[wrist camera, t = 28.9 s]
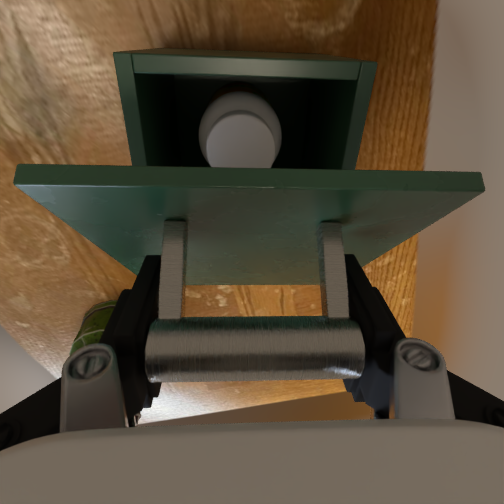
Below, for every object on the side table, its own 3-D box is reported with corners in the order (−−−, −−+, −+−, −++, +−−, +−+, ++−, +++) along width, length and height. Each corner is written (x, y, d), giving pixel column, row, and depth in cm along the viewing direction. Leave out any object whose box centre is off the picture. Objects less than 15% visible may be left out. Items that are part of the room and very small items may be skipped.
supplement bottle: (282, 96, 26) (304, 121, 17) (258, 159, 28) (267, 207, 20) (217, 69, 24) (208, 82, 16) (198, 137, 27) (182, 179, 19)
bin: (162, 47, 24) (112, 52, 14) (321, 53, 25) (378, 61, 15) (177, 202, 31) (151, 277, 21) (301, 203, 32) (332, 277, 22)
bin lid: (16, 162, 8) (-36, 398, 6) (482, 170, 9) (534, 386, 7) (150, 276, 21) (143, 363, 19) (333, 276, 22) (340, 360, 20)
